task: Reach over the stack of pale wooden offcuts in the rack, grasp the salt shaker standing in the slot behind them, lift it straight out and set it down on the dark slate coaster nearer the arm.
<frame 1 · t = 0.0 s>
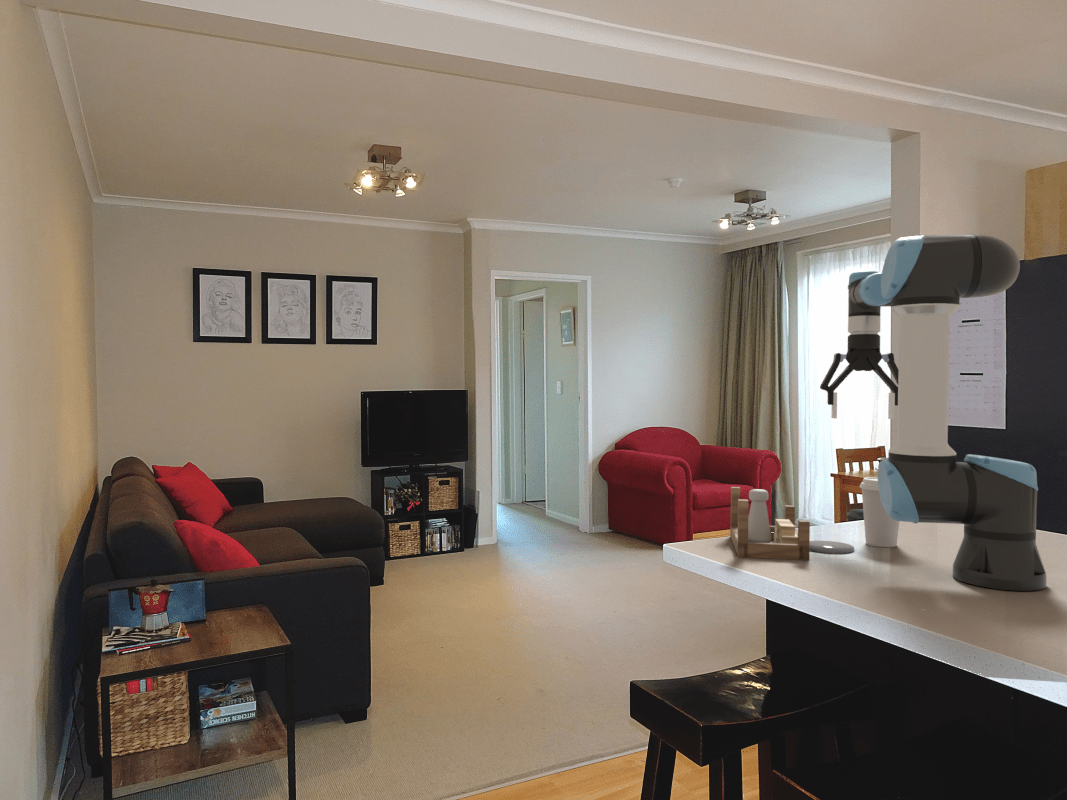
hand: (862, 418, 197), 28 cm above the table, fingers open, 13 cm apart
salt shaker: (757, 548, 176), resting in rack
offcut stack: (785, 548, 175), resting in rack
coffee cup: (881, 545, 180), on the table
rack: (767, 547, 176), on the table
coaster: (827, 548, 175), on the table
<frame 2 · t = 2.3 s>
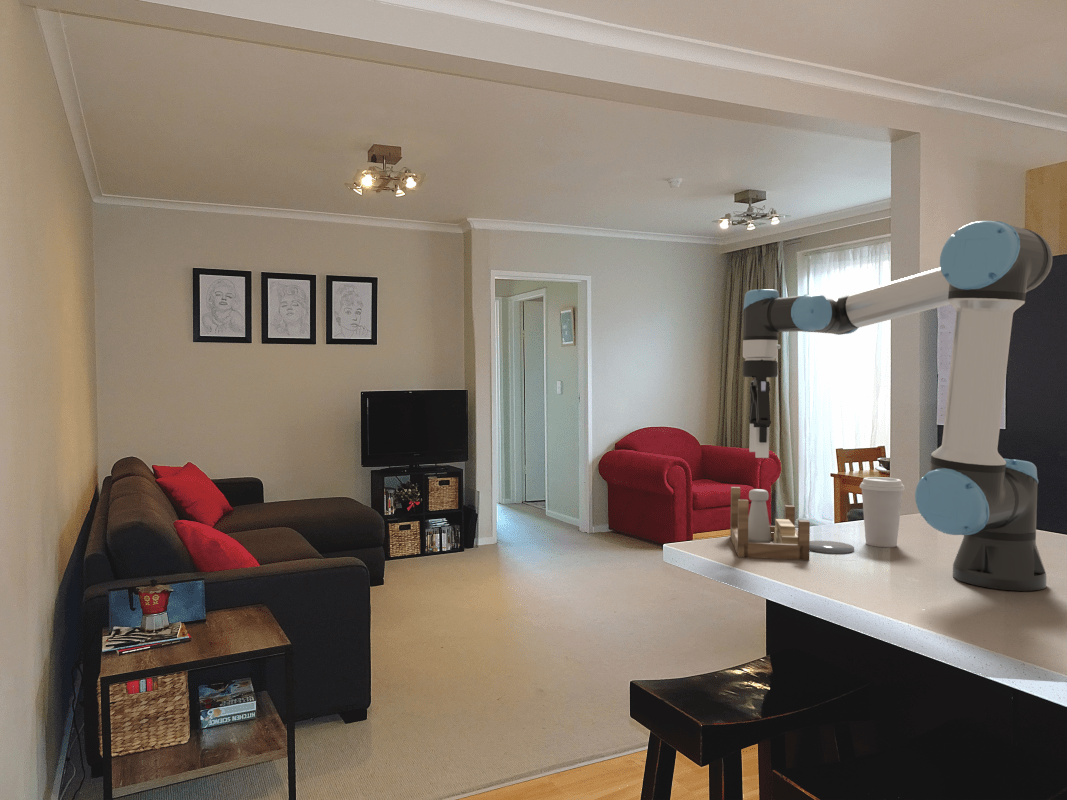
hand: (758, 454, 176), 21 cm above the table, fingers open, 13 cm apart
nothing on the table moved.
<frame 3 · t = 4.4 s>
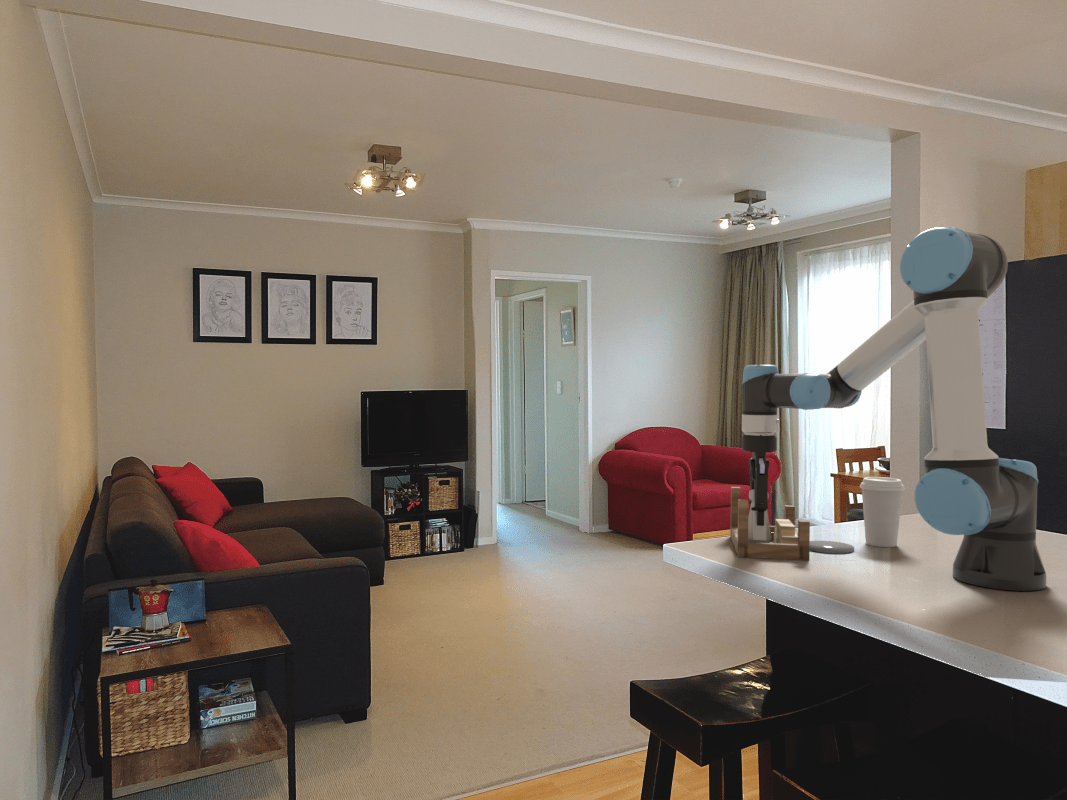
hand: (758, 536, 176), 2 cm above the table, fingers closed on salt shaker, 6 cm apart
salt shaker: (757, 548, 176), resting in rack, touching gripper
everything else where it was.
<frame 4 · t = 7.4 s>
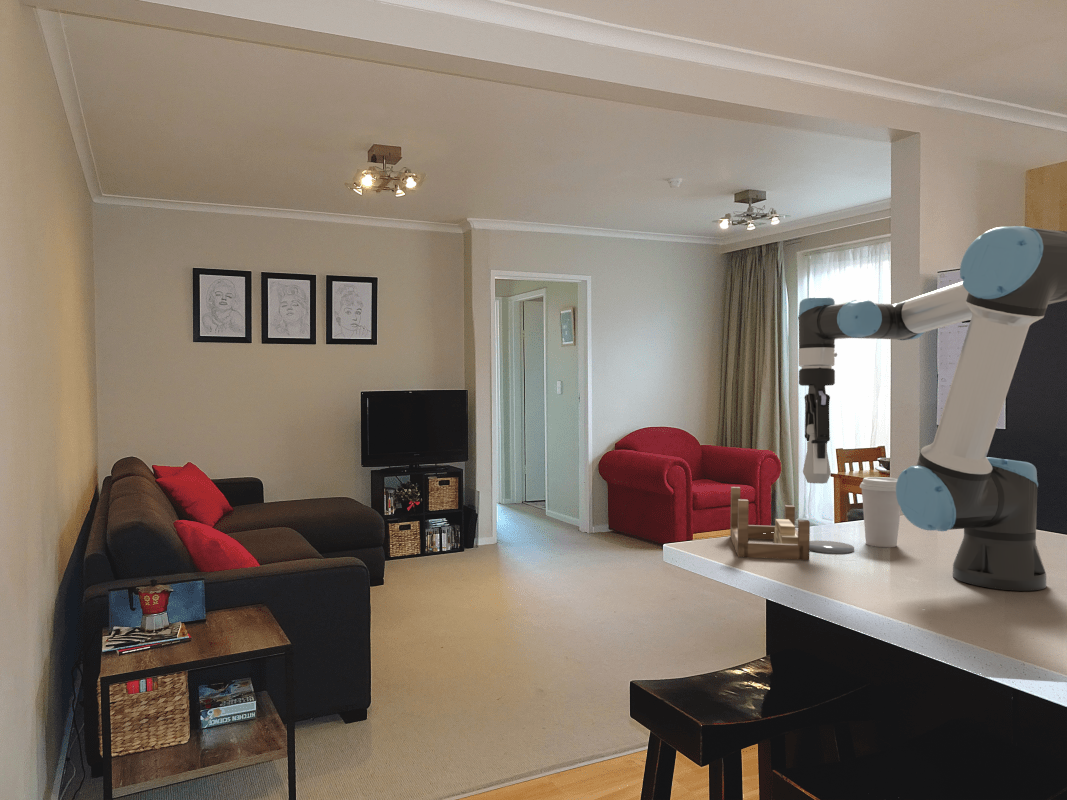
hand: (816, 471, 174), 17 cm above the table, fingers closed on salt shaker, 6 cm apart
salt shaker: (816, 483, 174), point 15 cm above the table, touching gripper
everything else where it was.
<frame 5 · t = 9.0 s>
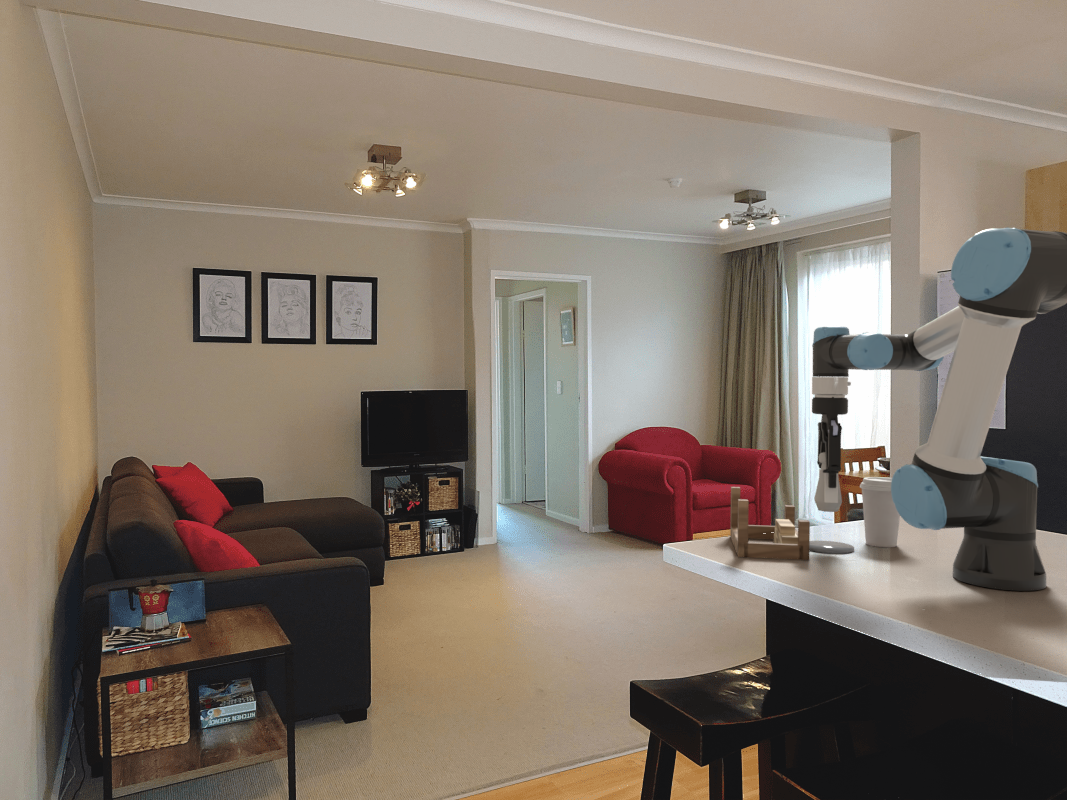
hand: (828, 499, 175), 11 cm above the table, fingers closed on salt shaker, 6 cm apart
salt shaker: (827, 511, 175), point 8 cm above the table, touching gripper
everything else where it was.
when the fingers open (4 cm above the table, at t = 10.5 s): salt shaker drops 1 cm, resting on coaster.
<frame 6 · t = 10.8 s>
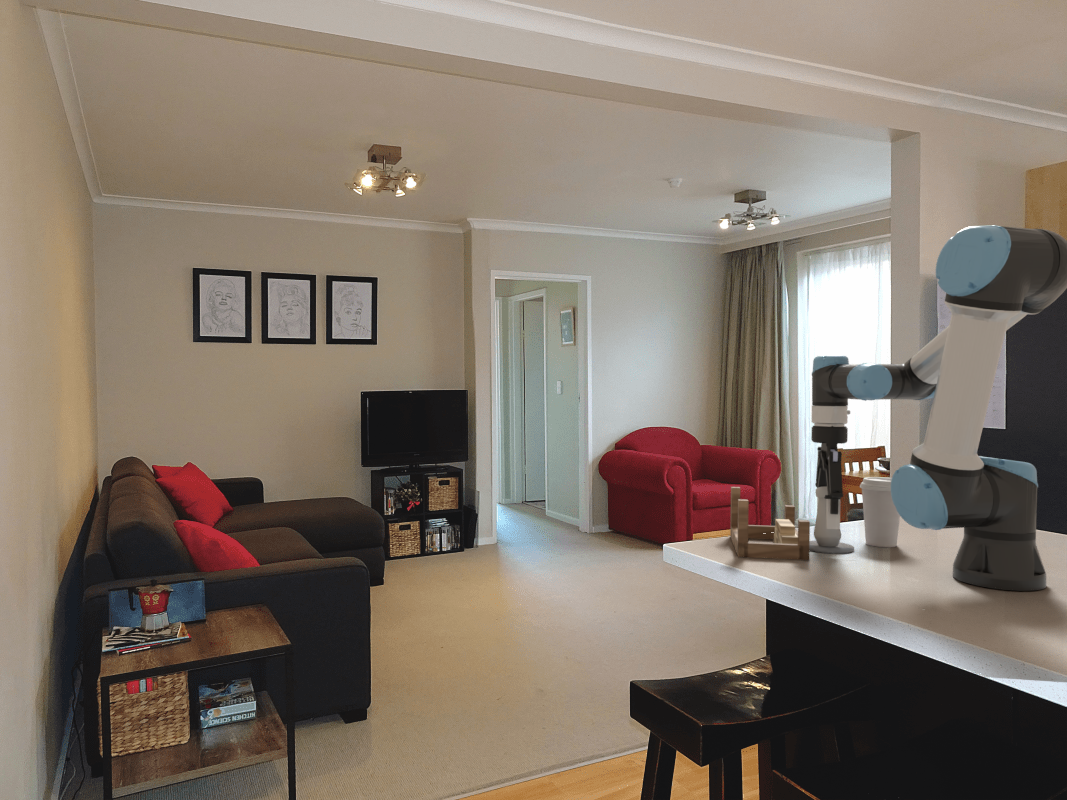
hand: (828, 524, 175), 5 cm above the table, fingers open, 10 cm apart
salt shaker: (827, 546, 175), point 1 cm above the table, touching coaster
everything else where it was.
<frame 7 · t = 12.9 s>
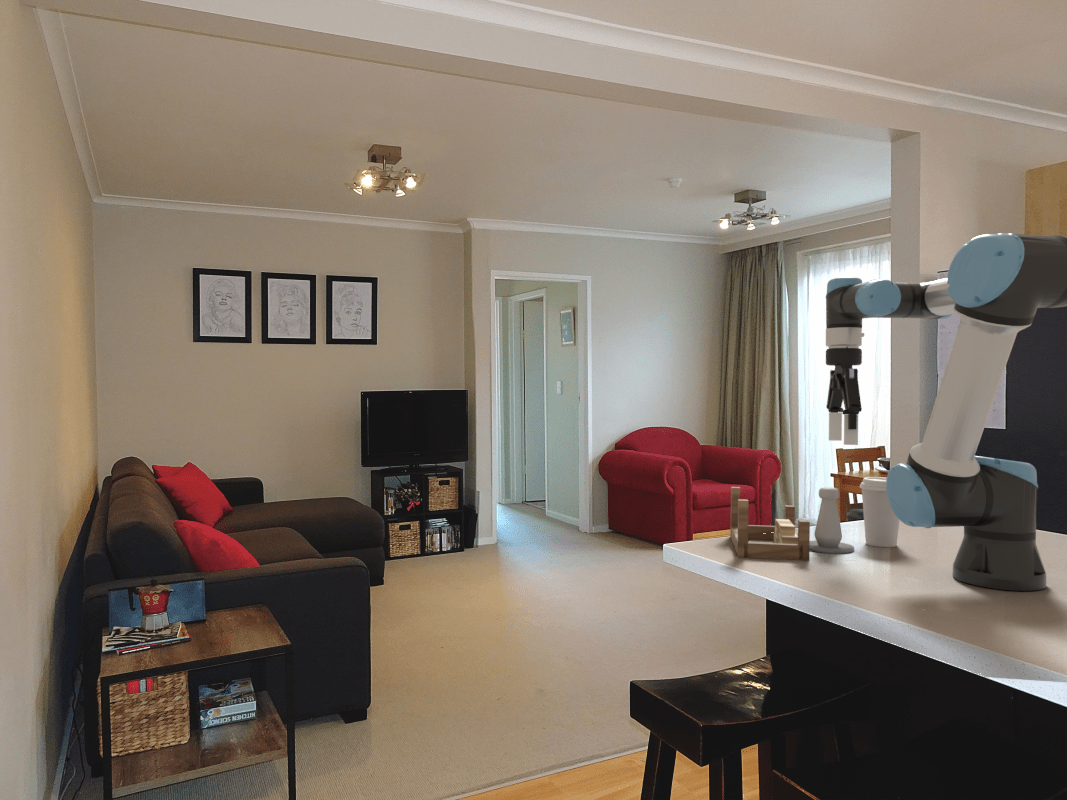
hand: (842, 442, 176), 24 cm above the table, fingers open, 13 cm apart
nothing on the table moved.
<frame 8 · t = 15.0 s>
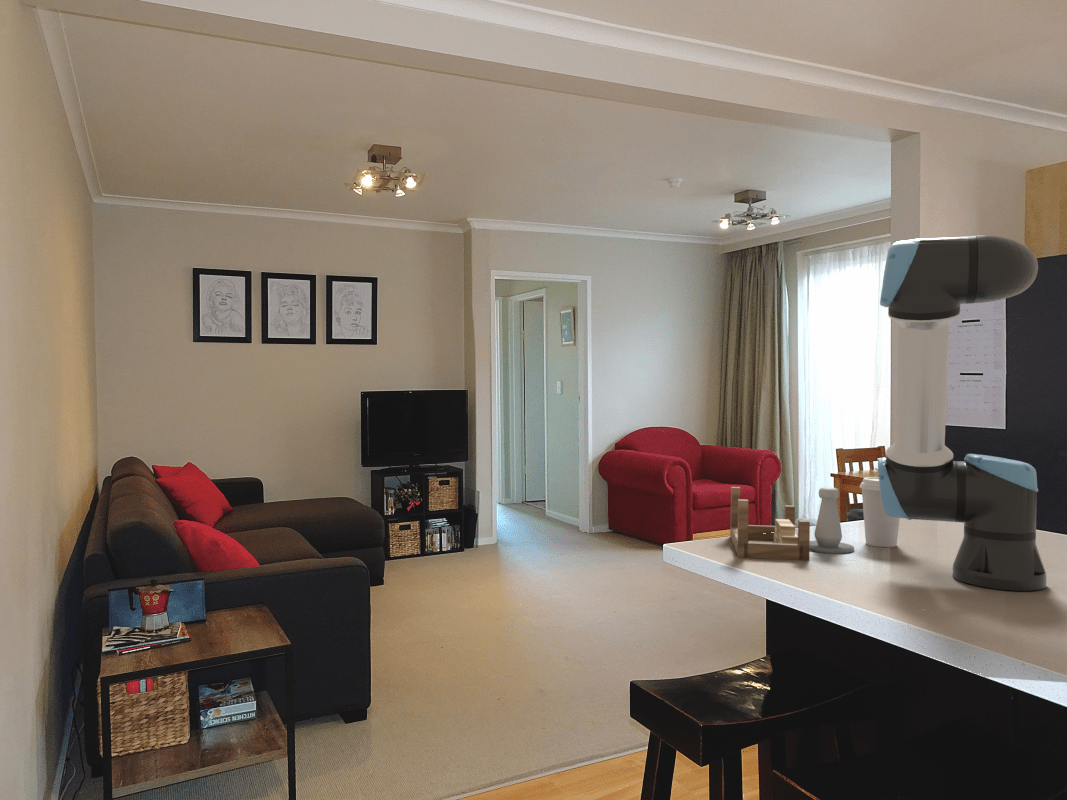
hand: (915, 418, 185), 29 cm above the table, fingers open, 13 cm apart
nothing on the table moved.
at the end: salt shaker 0.1 cm from the coaster (horizontally); salt shaker tilted 0°; salt shaker resting on coaster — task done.
